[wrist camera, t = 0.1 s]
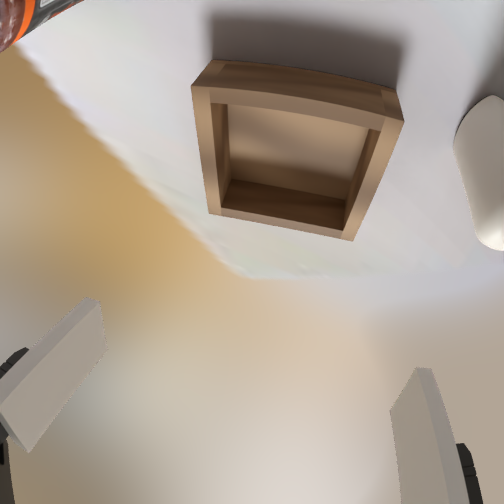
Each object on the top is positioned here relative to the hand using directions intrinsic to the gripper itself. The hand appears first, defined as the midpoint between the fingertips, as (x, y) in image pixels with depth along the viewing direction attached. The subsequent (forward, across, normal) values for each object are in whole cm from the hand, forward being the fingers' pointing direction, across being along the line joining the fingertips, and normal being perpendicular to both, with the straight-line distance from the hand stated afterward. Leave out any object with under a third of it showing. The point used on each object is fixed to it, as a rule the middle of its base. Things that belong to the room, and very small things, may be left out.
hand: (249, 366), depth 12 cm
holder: (+13, 0, +8) cm, 15 cm away
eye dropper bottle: (+10, +12, +12) cm, 20 cm away
